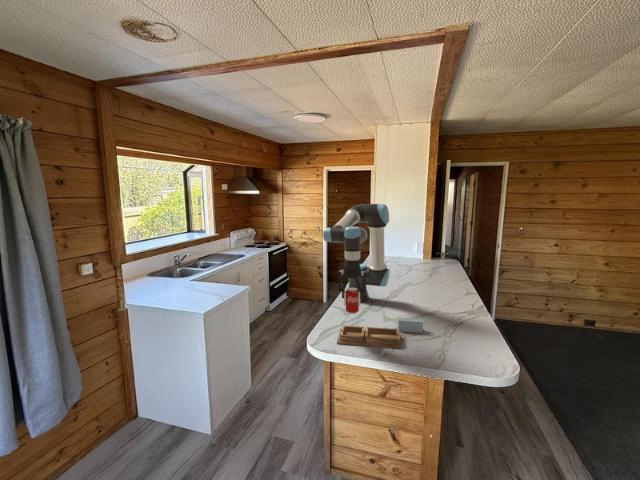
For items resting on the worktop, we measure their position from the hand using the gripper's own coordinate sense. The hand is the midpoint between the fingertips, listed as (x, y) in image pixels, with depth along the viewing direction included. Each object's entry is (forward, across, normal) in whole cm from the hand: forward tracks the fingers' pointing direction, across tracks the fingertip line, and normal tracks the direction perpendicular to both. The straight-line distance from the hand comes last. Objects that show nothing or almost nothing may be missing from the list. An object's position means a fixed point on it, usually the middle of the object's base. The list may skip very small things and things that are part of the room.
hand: (352, 304), depth 154 cm
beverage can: (+4, 0, 0) cm, 4 cm away
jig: (+17, +8, 0) cm, 19 cm away
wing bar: (+17, +29, +13) cm, 36 cm away
